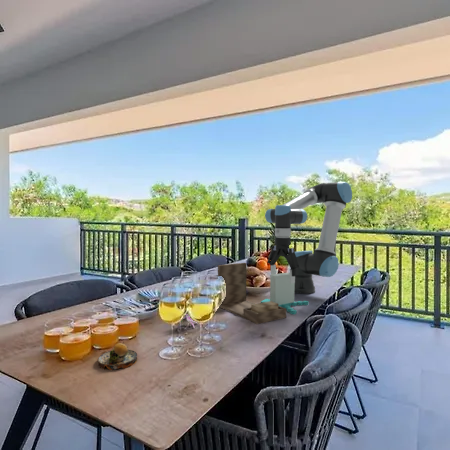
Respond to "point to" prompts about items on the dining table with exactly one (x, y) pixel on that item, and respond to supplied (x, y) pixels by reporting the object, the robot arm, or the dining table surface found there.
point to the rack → (243, 295)
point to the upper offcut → (264, 307)
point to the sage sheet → (281, 289)
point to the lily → (189, 319)
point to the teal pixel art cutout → (288, 305)
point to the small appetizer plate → (117, 358)
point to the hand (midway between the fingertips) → (282, 280)
